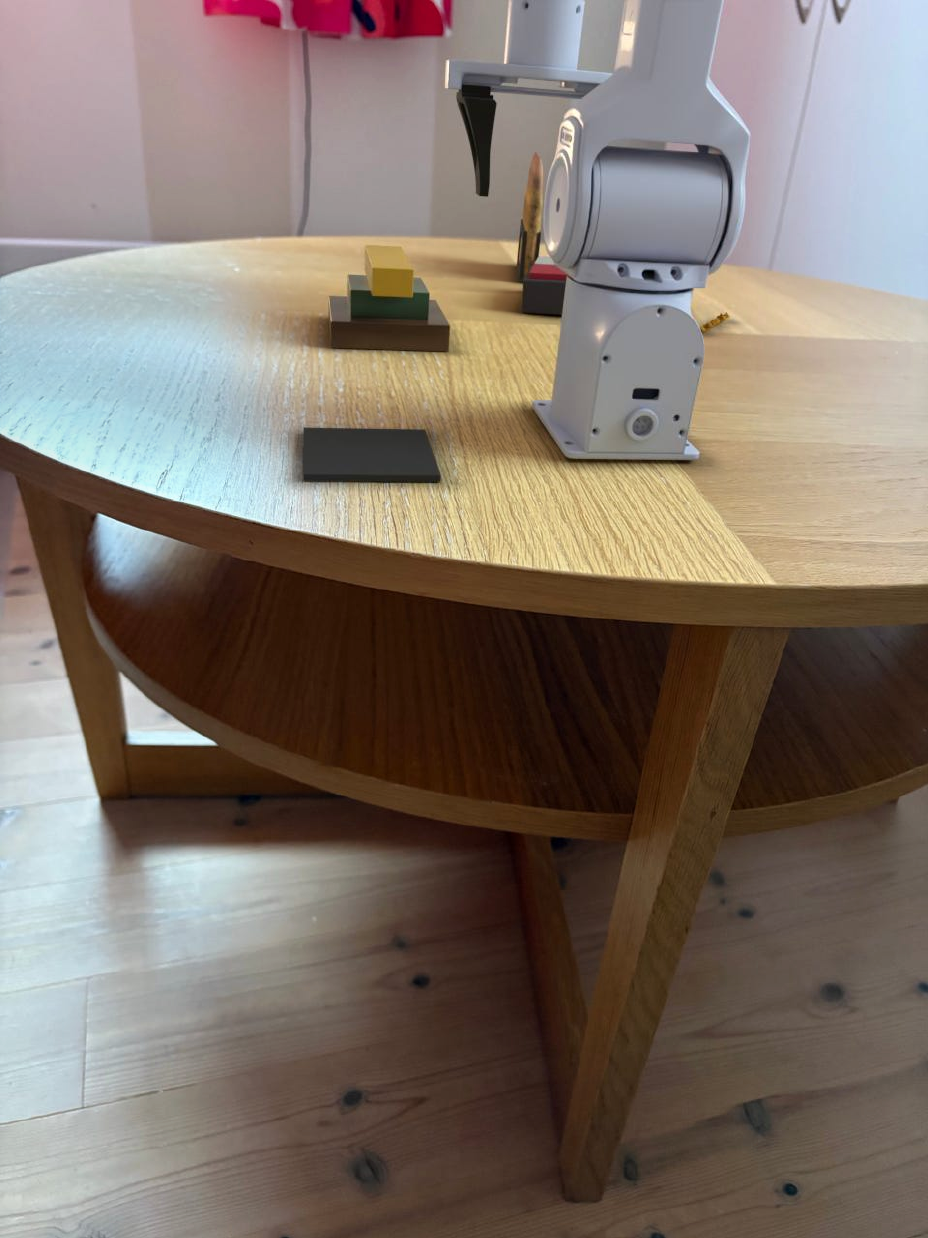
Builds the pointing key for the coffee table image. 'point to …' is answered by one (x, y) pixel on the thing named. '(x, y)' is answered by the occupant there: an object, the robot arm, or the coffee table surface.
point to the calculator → (544, 288)
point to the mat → (368, 455)
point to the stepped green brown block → (386, 319)
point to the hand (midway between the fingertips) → (527, 197)
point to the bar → (388, 271)
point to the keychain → (714, 322)
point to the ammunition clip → (531, 219)
